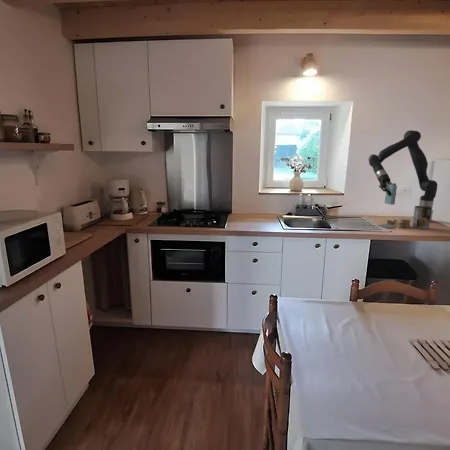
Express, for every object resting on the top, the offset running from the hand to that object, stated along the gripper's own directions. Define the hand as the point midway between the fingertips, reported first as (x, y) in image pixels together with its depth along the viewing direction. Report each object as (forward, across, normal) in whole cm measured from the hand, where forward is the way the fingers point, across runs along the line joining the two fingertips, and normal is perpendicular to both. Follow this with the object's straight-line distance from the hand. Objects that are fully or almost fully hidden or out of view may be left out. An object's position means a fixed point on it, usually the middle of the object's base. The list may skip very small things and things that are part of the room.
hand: (392, 195), depth 236 cm
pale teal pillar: (+3, 0, +6) cm, 7 cm away
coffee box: (+22, +22, +12) cm, 34 cm away
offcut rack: (+15, +11, +19) cm, 27 cm away
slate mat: (+16, 0, +18) cm, 24 cm away
